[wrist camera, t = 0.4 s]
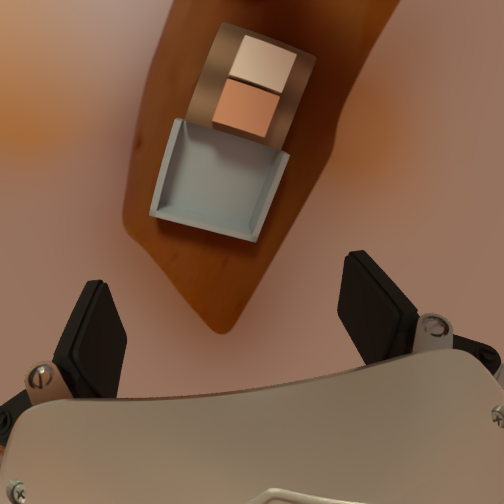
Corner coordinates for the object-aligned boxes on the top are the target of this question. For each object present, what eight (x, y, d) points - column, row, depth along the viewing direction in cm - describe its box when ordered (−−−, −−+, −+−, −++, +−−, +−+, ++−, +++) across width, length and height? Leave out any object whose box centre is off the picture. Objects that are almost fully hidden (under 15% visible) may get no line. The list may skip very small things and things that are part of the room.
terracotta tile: (226, 80, 29) (227, 78, 27) (274, 97, 31) (280, 96, 29) (211, 119, 31) (212, 120, 29) (260, 135, 33) (264, 137, 31)
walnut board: (220, 27, 28) (222, 21, 26) (309, 60, 32) (317, 57, 29) (185, 119, 34) (184, 120, 31) (274, 147, 37) (280, 150, 34)
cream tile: (242, 39, 27) (245, 35, 25) (290, 57, 29) (296, 54, 27) (227, 76, 29) (229, 74, 27) (276, 93, 31) (281, 92, 29)
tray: (178, 117, 33) (175, 119, 30) (281, 149, 37) (290, 155, 34) (153, 204, 38) (148, 215, 35) (251, 230, 42) (255, 242, 39)
